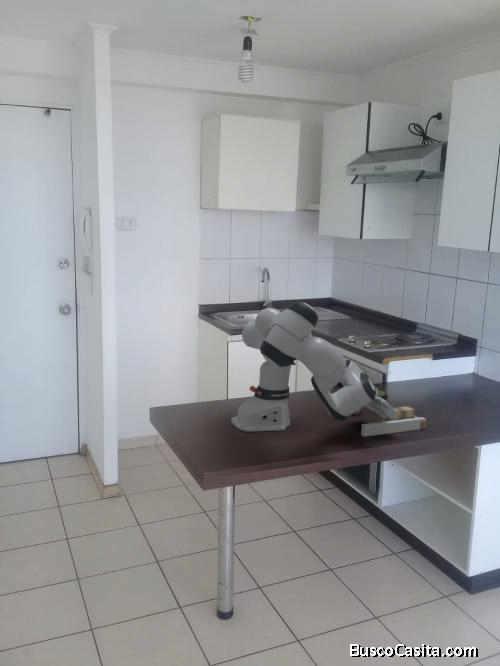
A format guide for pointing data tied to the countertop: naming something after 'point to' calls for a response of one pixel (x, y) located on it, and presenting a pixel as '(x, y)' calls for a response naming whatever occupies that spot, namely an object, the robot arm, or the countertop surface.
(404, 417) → the long beige block
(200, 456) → the countertop surface
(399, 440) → the countertop surface
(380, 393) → the vegetable
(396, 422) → the board
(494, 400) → the countertop surface
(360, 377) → the robot arm
